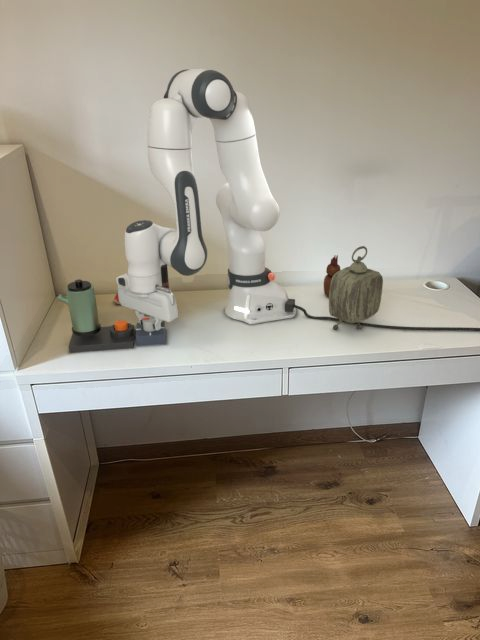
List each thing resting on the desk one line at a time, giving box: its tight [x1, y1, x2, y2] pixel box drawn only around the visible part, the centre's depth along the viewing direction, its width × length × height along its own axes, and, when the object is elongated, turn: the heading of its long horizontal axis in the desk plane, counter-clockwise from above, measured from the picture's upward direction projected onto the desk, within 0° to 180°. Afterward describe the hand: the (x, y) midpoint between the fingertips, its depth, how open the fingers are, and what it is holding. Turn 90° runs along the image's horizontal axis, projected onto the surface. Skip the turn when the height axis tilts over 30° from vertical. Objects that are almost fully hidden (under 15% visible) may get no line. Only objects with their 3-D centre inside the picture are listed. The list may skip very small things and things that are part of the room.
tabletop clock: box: [328, 245, 384, 331], centre depth 158 cm, size 14×9×25 cm, turn 134°
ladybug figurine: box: [113, 292, 121, 305], centre depth 180 cm, size 7×10×4 cm
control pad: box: [135, 320, 167, 347], centre depth 156 cm, size 8×9×3 cm
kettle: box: [56, 279, 102, 336], centre depth 150 cm, size 10×10×15 cm
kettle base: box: [68, 322, 135, 354], centre depth 154 cm, size 17×11×4 cm, turn 100°
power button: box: [113, 319, 129, 331], centre depth 154 cm, size 4×4×2 cm
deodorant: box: [161, 264, 170, 289], centre depth 171 cm, size 6×6×15 cm
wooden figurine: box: [323, 254, 341, 298], centre depth 181 cm, size 7×6×15 cm
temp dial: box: [142, 315, 156, 332], centre depth 155 cm, size 4×4×3 cm
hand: (150, 326), depth 155 cm, fingers closed on temp dial, 4 cm apart
